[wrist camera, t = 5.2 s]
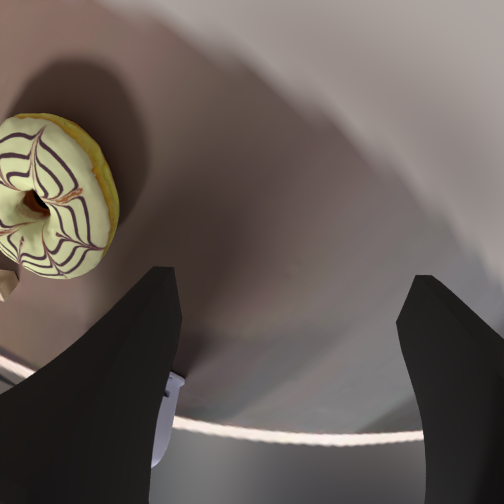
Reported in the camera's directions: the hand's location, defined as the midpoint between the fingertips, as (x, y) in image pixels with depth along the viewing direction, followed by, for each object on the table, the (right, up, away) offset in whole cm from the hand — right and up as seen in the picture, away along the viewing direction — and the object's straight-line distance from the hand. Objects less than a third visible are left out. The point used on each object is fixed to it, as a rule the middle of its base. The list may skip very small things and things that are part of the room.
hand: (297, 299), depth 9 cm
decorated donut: (-14, +6, +8) cm, 17 cm away
